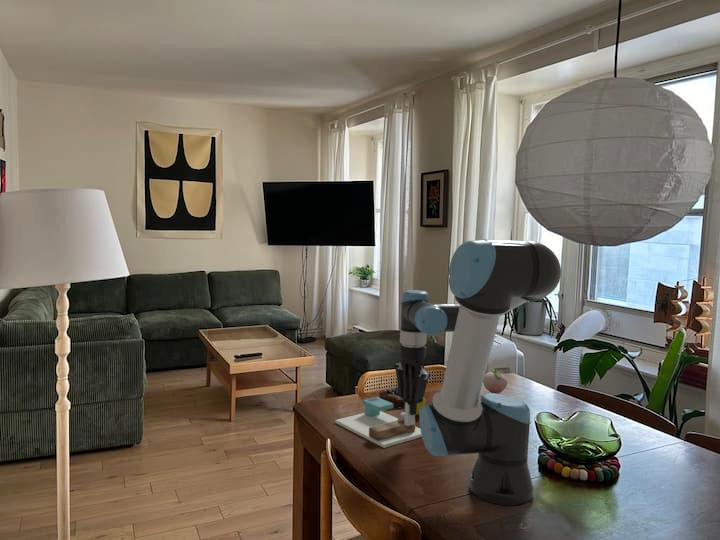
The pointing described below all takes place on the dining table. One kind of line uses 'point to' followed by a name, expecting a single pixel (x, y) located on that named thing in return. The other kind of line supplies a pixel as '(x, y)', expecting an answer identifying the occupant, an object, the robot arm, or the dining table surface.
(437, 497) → the dining table surface
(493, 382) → the decorative fruit
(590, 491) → the dining table surface
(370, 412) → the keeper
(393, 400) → the pastry
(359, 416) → the plate
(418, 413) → the lemon
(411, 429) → the walnut link
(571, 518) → the dining table surface
